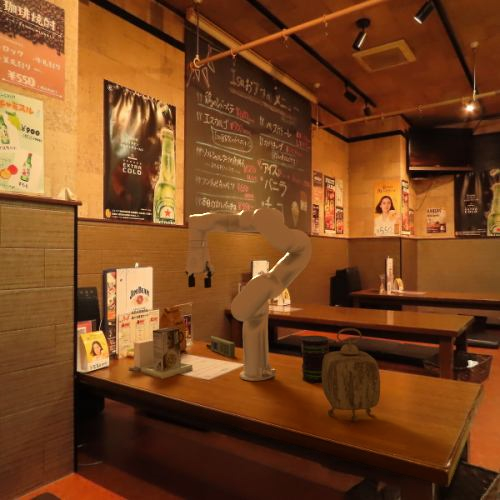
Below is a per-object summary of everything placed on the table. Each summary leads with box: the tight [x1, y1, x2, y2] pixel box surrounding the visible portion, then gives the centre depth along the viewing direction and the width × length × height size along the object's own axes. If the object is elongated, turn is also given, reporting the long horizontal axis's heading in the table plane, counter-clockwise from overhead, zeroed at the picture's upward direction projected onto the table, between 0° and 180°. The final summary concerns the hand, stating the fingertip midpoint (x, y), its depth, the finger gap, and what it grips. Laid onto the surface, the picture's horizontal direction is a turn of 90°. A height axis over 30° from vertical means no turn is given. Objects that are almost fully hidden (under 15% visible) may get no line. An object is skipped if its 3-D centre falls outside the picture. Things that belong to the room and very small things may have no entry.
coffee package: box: [158, 305, 188, 353], centre depth 198 cm, size 10×12×22 cm
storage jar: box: [300, 335, 330, 384], centre depth 149 cm, size 10×10×15 cm
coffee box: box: [152, 327, 182, 372], centre depth 166 cm, size 9×6×16 cm
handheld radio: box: [206, 335, 236, 359], centre depth 195 cm, size 7×3×25 cm
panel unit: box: [128, 337, 154, 373], centre depth 175 cm, size 6×20×11 cm, turn 138°
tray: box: [140, 361, 193, 380], centre depth 166 cm, size 14×15×2 cm
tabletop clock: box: [321, 327, 381, 423], centre depth 113 cm, size 14×9×25 cm, turn 92°
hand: (199, 287), depth 167 cm, fingers open, 9 cm apart
